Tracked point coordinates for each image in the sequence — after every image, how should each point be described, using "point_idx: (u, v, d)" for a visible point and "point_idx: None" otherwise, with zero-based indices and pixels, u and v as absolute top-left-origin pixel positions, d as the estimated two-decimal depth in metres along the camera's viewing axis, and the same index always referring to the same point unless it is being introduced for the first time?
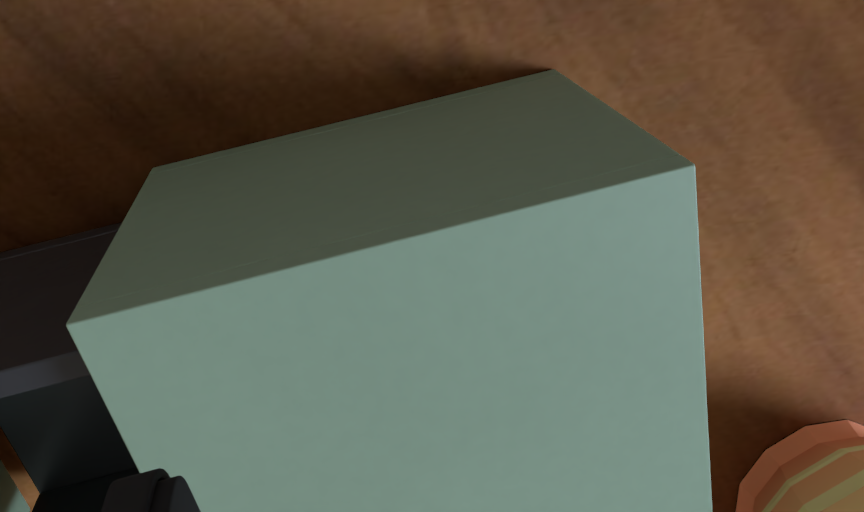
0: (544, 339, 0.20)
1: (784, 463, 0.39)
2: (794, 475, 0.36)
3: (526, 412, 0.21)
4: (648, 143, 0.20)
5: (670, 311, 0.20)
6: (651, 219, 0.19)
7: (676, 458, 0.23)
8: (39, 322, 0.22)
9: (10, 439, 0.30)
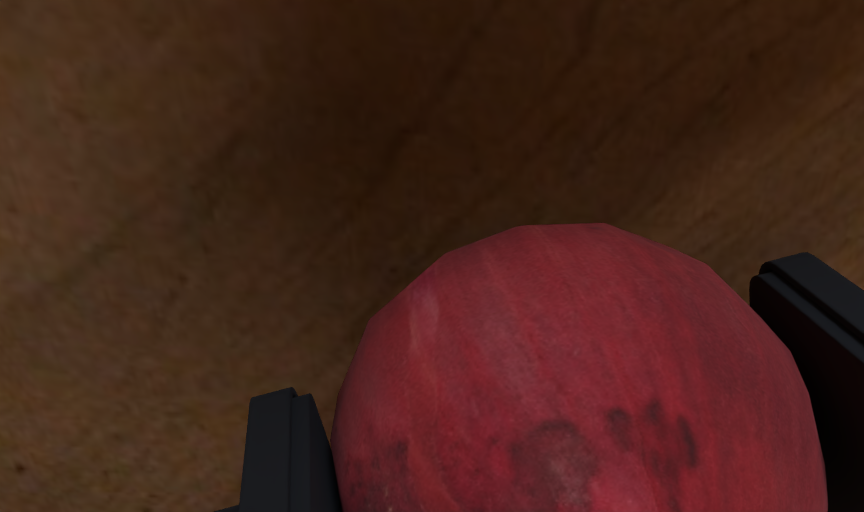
0: None
1: None
2: None
3: None
4: None
5: None
6: None
7: None
8: None
9: None
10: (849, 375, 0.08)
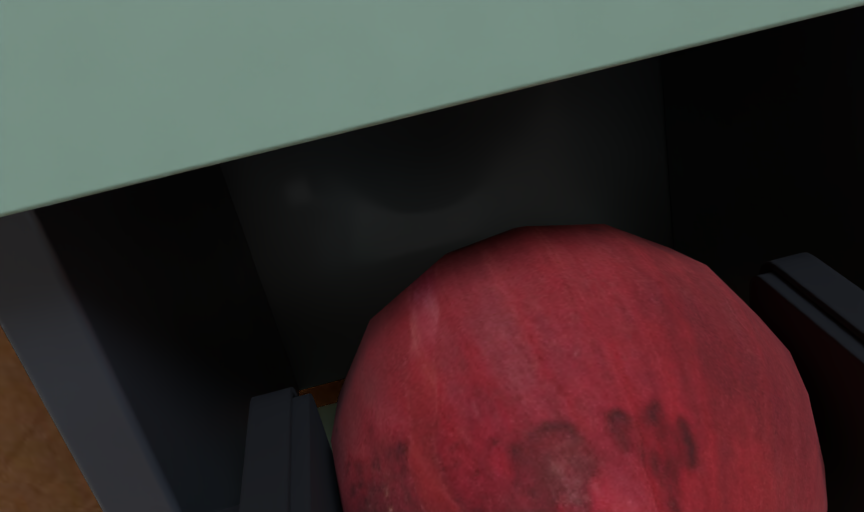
0: None
1: None
2: None
3: None
4: None
5: None
6: None
7: None
8: None
9: None
10: (849, 375, 0.08)
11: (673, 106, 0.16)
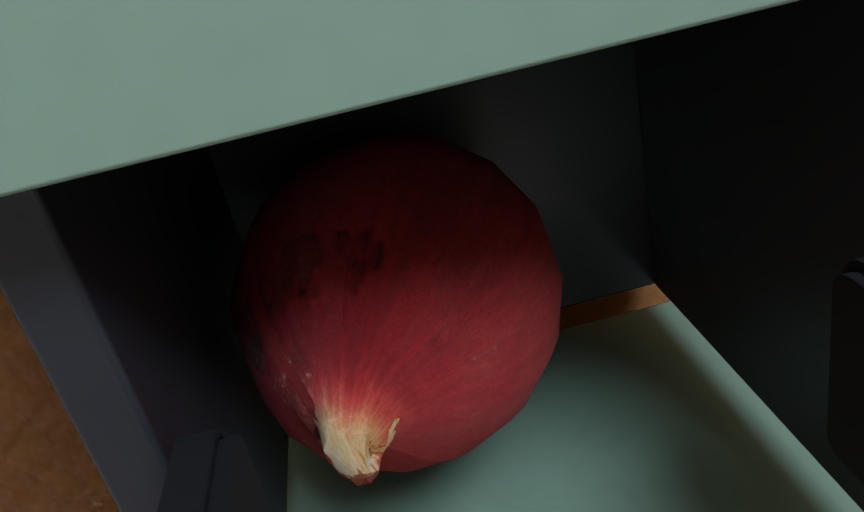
0: None
1: None
2: None
3: None
4: None
5: None
6: None
7: None
8: None
9: None
10: None
11: (648, 103, 0.16)
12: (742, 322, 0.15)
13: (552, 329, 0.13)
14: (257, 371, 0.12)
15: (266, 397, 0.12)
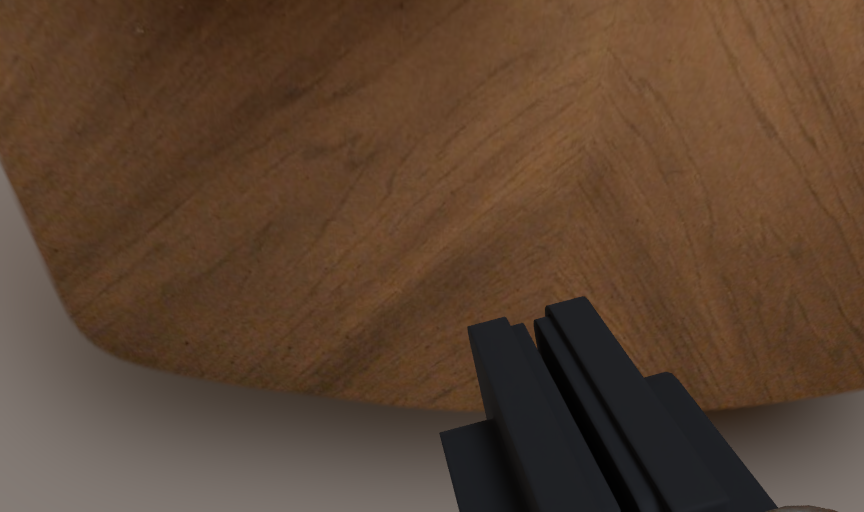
0: None
1: None
2: None
3: None
4: None
5: None
6: None
7: None
8: None
9: None
10: (585, 425, 0.08)
11: None
12: None
13: None
14: None
15: None
